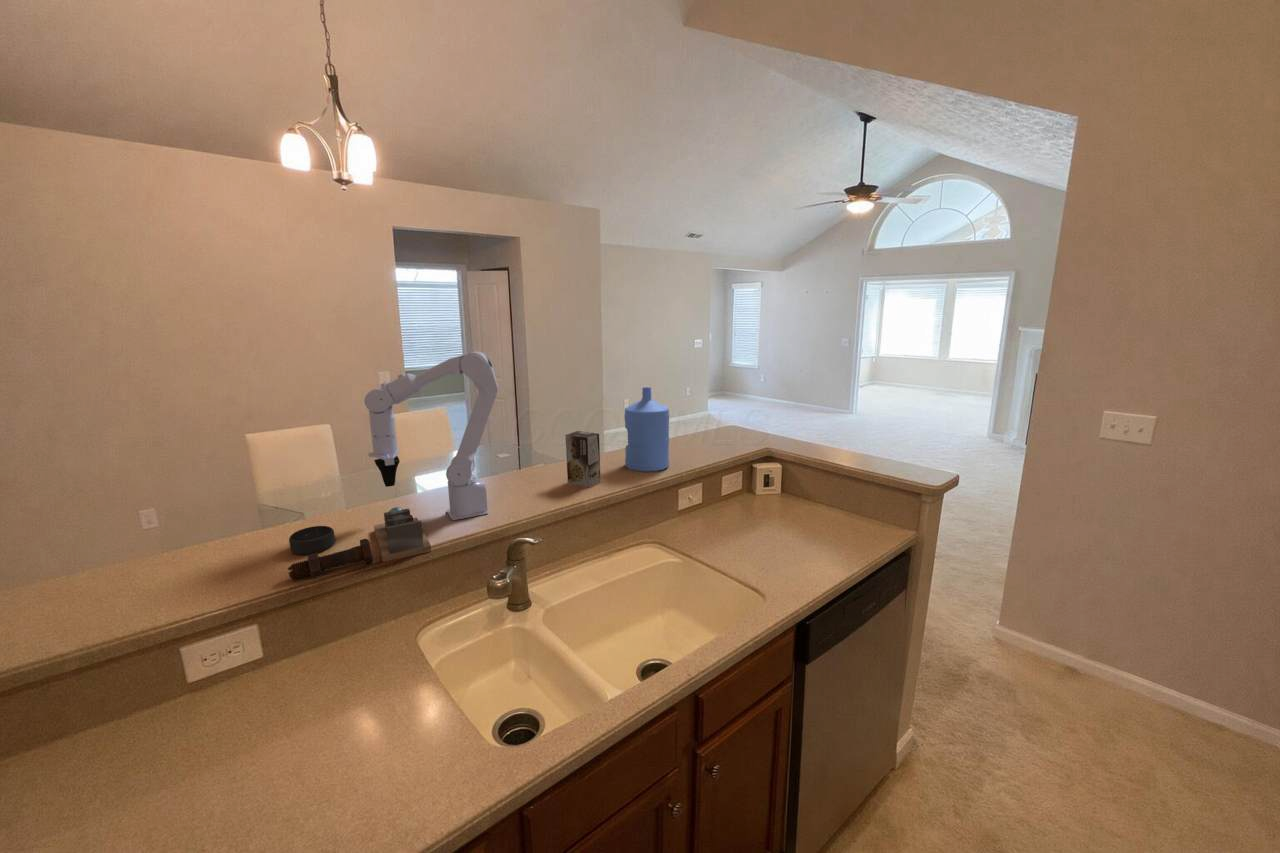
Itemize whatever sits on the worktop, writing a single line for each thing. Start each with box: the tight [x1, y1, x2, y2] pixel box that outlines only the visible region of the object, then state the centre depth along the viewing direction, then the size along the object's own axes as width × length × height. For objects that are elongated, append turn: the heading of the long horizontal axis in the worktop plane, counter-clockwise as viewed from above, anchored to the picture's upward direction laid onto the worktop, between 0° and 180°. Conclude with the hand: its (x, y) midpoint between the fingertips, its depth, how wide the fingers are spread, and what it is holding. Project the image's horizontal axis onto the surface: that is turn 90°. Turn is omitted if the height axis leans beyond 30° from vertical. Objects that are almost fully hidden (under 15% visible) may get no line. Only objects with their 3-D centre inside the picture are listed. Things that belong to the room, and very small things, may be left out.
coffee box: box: [564, 430, 601, 488], centre depth 165 cm, size 9×6×16 cm
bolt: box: [287, 538, 374, 580], centre depth 110 cm, size 6×5×15 cm
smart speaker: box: [288, 525, 336, 556], centre depth 121 cm, size 9×9×4 cm
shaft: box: [388, 506, 404, 525], centre depth 124 cm, size 15×4×4 cm, turn 31°
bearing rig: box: [373, 508, 432, 563], centre depth 124 cm, size 20×10×8 cm, turn 31°
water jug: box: [624, 386, 670, 473], centre depth 182 cm, size 16×16×28 cm
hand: (389, 485), depth 136 cm, fingers closed
